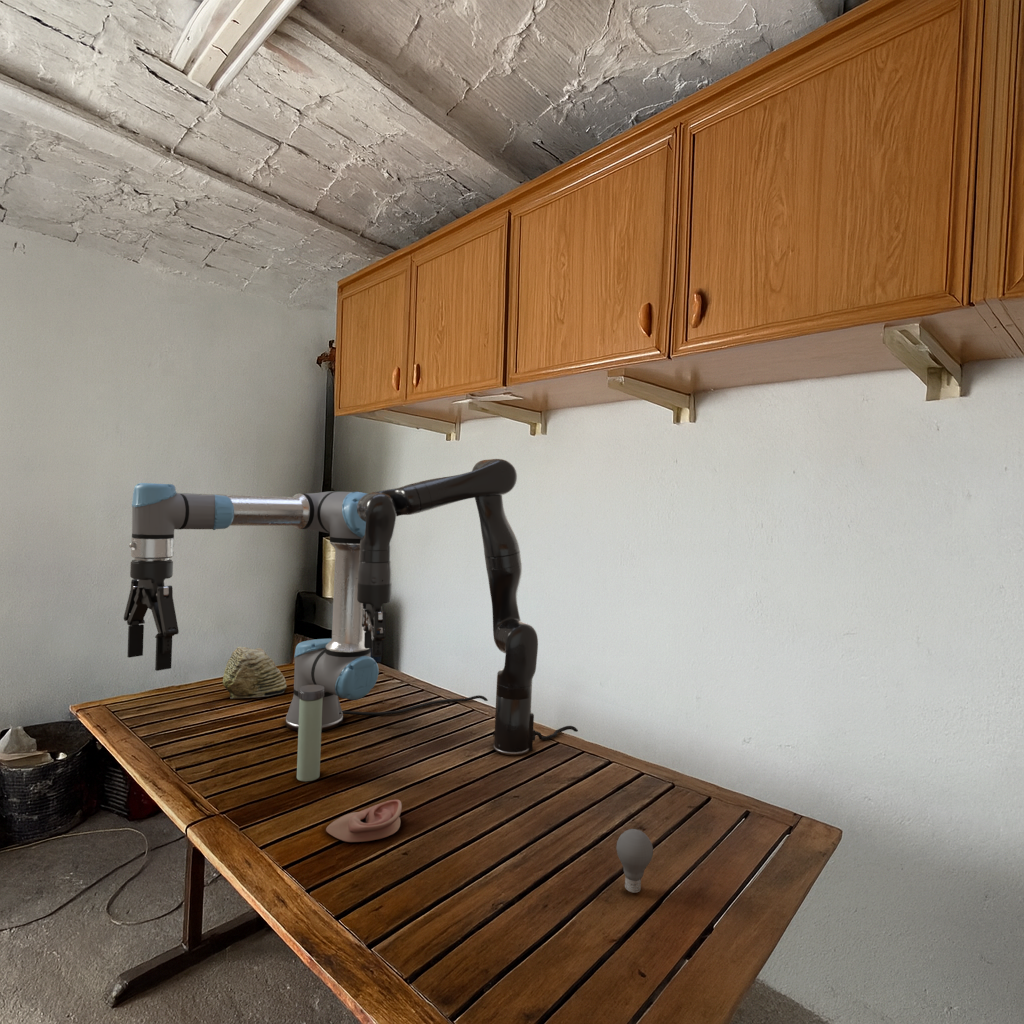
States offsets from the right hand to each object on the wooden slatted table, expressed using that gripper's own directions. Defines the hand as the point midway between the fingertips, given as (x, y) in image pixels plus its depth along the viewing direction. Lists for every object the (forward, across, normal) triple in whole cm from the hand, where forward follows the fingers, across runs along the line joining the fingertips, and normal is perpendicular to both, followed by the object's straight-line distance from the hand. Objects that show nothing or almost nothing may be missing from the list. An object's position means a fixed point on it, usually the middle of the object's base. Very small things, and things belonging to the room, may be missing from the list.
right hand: (372, 652), depth 144 cm
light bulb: (+29, -57, -32) cm, 72 cm away
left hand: (0, +4, +45) cm, 45 cm away
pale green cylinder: (+28, +4, +13) cm, 31 cm away
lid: (+9, +4, +13) cm, 16 cm away
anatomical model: (+28, -22, +6) cm, 37 cm away
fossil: (+28, +68, +22) cm, 77 cm away
